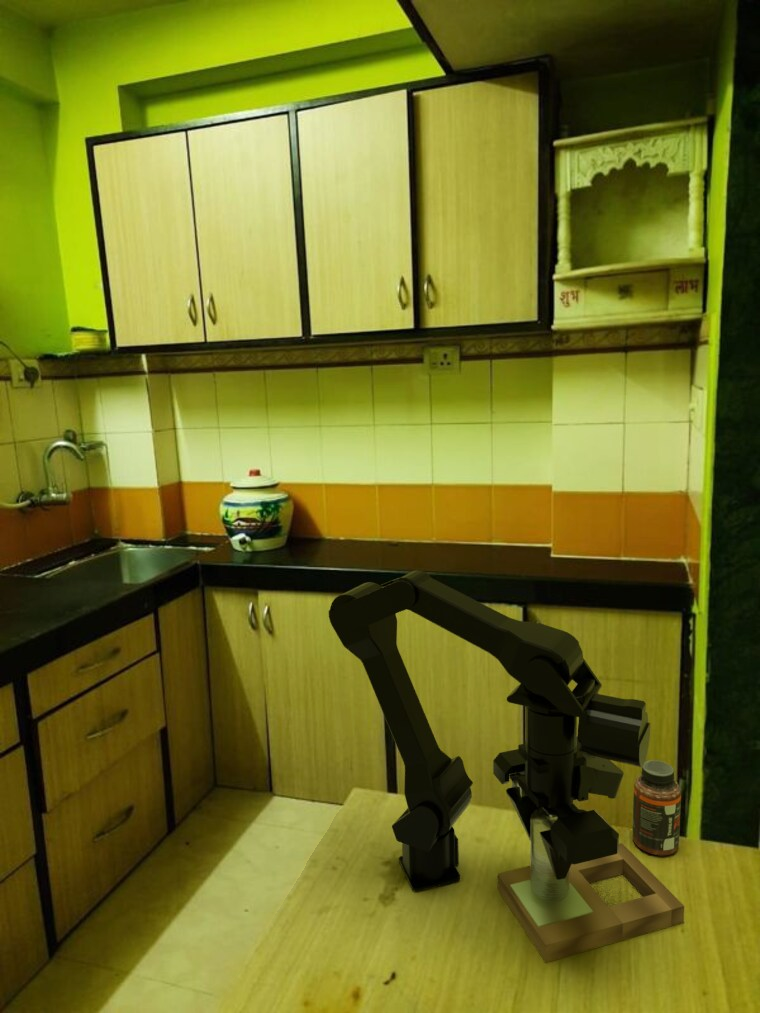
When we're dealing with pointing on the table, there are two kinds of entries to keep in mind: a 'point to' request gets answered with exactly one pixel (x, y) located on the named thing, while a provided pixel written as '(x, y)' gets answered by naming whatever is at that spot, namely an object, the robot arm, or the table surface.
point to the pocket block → (590, 907)
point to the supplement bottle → (656, 809)
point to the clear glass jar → (544, 862)
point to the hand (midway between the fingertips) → (549, 864)
